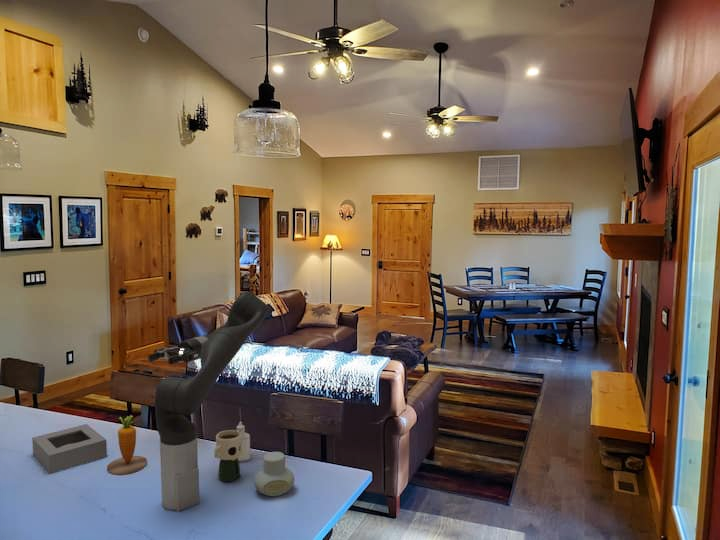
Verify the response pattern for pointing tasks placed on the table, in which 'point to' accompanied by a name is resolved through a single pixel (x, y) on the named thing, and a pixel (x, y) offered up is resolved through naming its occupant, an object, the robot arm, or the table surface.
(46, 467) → the box
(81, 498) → the table surface
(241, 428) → the eye dropper bottle
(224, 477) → the character mug
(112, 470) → the walnut pad
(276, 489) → the air freshener
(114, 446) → the table surface
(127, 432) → the carrot
